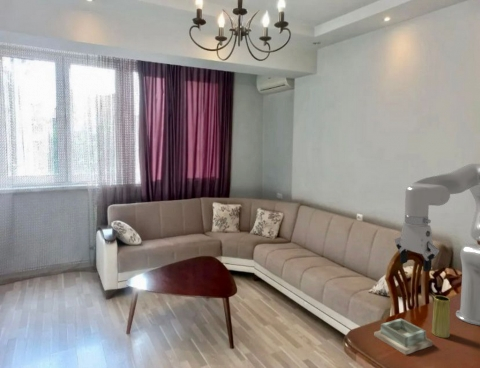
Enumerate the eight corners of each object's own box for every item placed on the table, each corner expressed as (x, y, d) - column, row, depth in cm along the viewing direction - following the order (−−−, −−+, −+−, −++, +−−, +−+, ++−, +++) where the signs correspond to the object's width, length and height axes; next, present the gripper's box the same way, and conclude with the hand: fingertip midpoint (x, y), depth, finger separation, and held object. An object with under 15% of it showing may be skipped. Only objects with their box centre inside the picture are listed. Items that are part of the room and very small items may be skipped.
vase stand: (400, 327, 137) (400, 315, 137) (432, 345, 125) (433, 332, 124) (374, 335, 131) (374, 323, 131) (405, 354, 119) (406, 341, 118)
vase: (452, 338, 129) (454, 302, 128) (434, 337, 130) (436, 300, 129) (446, 330, 135) (447, 295, 134) (429, 329, 136) (430, 294, 135)
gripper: (446, 223, 118) (444, 272, 119) (403, 215, 133) (402, 258, 135) (431, 225, 115) (429, 275, 116) (389, 217, 130) (388, 261, 132)
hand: (414, 266), depth 125 cm, fingers open, 9 cm apart
